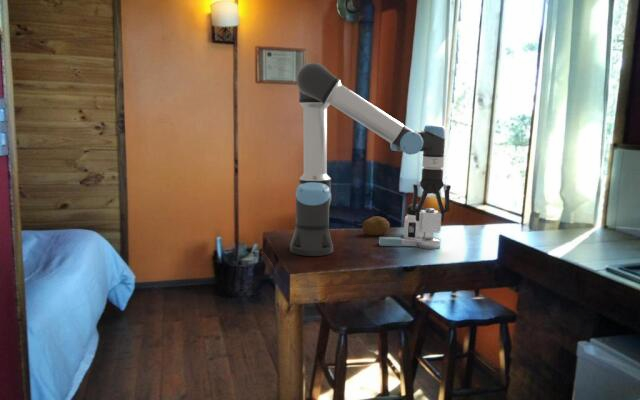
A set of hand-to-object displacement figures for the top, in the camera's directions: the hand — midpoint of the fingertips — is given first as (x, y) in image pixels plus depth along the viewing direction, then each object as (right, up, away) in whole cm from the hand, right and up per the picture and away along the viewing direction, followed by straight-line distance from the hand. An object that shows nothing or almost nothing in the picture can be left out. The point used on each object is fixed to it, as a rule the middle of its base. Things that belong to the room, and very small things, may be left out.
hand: (428, 229), depth 192 cm
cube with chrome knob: (0, 0, 0) cm, 0 cm away
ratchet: (-7, -6, +1) cm, 9 cm away
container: (-3, -4, +15) cm, 16 cm away
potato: (-18, -3, +17) cm, 25 cm away
